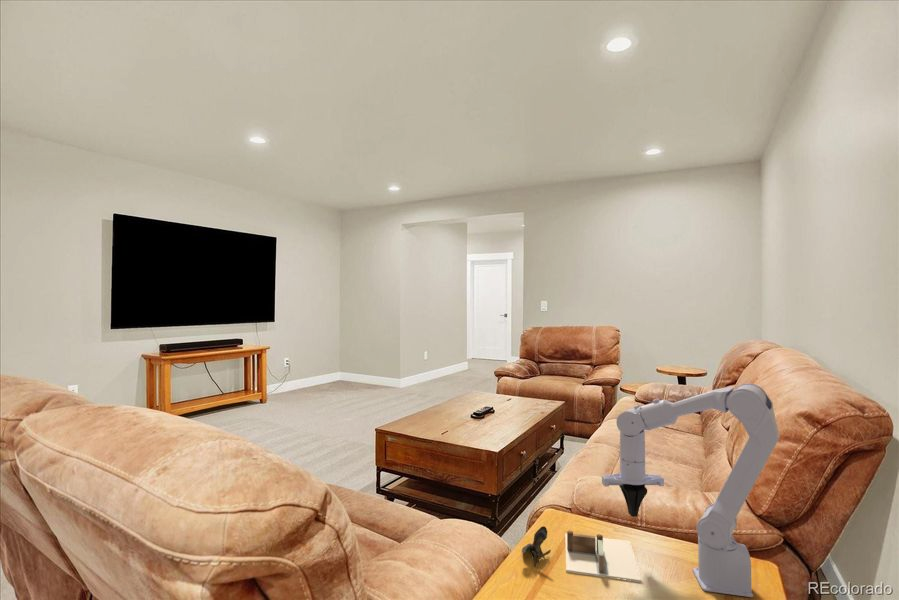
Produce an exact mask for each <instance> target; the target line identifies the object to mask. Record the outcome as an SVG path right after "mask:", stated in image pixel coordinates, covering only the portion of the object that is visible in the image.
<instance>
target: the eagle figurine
mask: <svg viewBox="0 0 899 600" xmlns="http://www.w3.org/2000/svg"><path fill="white" fill-rule="evenodd" d="M548 531H549V530H547V527H546V526H543V525H542V526H540V527H539V529H538V530H537V531H535V533H534V535H533V542H532V543H531V542H530V543H527V544H526V545H524V546H523V547H522V548H521V553H522V554H524V553H527V552H529V553H530V555H531V557H530V560H534V564H533V566H534V568H536V567H537V565H538V564H539V562H540V560H541V559H544V560H546V557H545V556H547V555H549V554H550V553H551V551H552V550H551V549H549V550H548V551H545V552H543V551H542V546H541V545H542V544H544V542H545V541H546V539H547V538H548Z"/></svg>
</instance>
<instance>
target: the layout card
mask: <svg viewBox="0 0 899 600" xmlns="http://www.w3.org/2000/svg"><path fill="white" fill-rule="evenodd" d="M564 538H565V540H564V542H565V572H566V573H570V574H577V575H584V576H585V575H586V576H590V577H591V576H592V577H598V576H599V578H605V577H609V578H608V579H612V578H620V579H626V580H625V581H627V580H631V581H630V582H634V581H635V582H634V583H641V582H642V583H643V579H642V577H641V574H640V570H639V567H638V562H637V559H636V557H635V554H634V550H633V547H632V543H631V541H630V540H625V539H616V538H607V537H603V553H604V572H600V571H599V563H598V554H597V536H595V538H596V554H591V553H583V552H575V551H568V550H567V532H566V533H565V534H564ZM620 579H619V580H620Z"/></svg>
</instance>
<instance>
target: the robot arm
mask: <svg viewBox="0 0 899 600" xmlns="http://www.w3.org/2000/svg"><path fill="white" fill-rule="evenodd" d="M734 388H735V389H734ZM640 405H641V404H637V405H634V408H629V409H627V410H625V411H623V412H621V413H620V414H619V415H618V416H617V418H616V427H617V429H618V431H619V473H613V474H609V475H601V484H602V485H603V486H604V487H606V488H607V487H609V486H619V488H620V490H621V492H622V495H623V497H624V500H625V503H626V507H627V511H628V512H627V513H628V514H629V516H630V517H633V518H634V517H636V518H637V517H638V516H639V515H638V514H639V511H640V508H641V504H642V502H643V501H644V499H645V497H646V495H647V494H648V488H647V487H646V486H659V487H664V486H665V478H664V477H662V476H661V475H658V474H657V475H656V474H647V473H646V441H645V439H646V436H645V431H651V430H655V429H659V428H663V427H666V426H671V425H674V424H676V422H677V420H678V417H681V416H685V415H690V414H694V413H699V412H703V411H707V410H711V409H712V410H713V409H714V410H716V411H719V412H721V413H723V414H727V412H728V411H729V413H731V414H732V415H733V416H734V417H735V418H736V419H737V420H738V421H739V422H740V423H741V424H742V426H743V428H744V429H745V431H746V434H748V439H747V441H746V443H745V444H744V446H743V448H742V450H741V453H740V454H739V456H738V458H737V460H736V462H735V464H734V465H733V467H732V469H731V471H730V473H729V475H728V476H727V479H726V480H725V482H724V484H723V486H722V488H721V490H720V492H719V493H718V495H717V497H716V499H715V501H714V502H713V503H711V504H709V505H708V506H707V507H706V508H705V510H704V513H703V515H702V517H701V518H699V520H698V521H697V523H696V527H695V528H696V534H697V538H698V540H697V545H698V547H697V548H698V550H697V551H698V553H697V554H698V557H697V558H698V563H697V564H698V567H692V572H693V573H694V575H695V578H696V580H697V582H698V584H699V586H700V587H701V589H702V591H705V592H710V593H717V594H718V593H719V594H724V595H732V596H739V597H746V598H753V597H754V593H752V592H753V591H752V590H753V589H752V560H751V556H750V552H749V550H748V548H747V546H746V545H745V544H742V543H739V542H737V541H736V539H735V537H734V535H733V533H734V531H735V530H736V528H737V524H738V522H737V517H738V514H739V513H740V511H741V510H742V507H743V505H744V504H745V502H746V500H747V497H748V496H749V494H750V492H751V491H752V489H753V487H754V486H755V483H756V482H757V481H758V478H759V476H760V475H761V472H762V471H763V469H764V467H765V465H766V463H767V461H768V460H769V458H770V456H771V454H772V452H773V451H774V449H775V447H776V445H777V444H778V442H779V438H780V432H779V428H778V424H777V420H776V416H775V411H774V410H775V409H774V404H773V401H772V400H771V399H770V397H769V395H768V394H767V393H766V391H765V390H764V389H763V388H762V387H761V386H759V385H757V384H755V383H746V382H745V383H742V384H740V385H738V386H737V387H736V385H730V386H725V387H721V388H715V389H712V390H709V391H706V392H703V393H699V394H697V395H694V396H691V397H687V398H684V399H681V400H679V401H675V402H672V401H670V400H667V399H660V398H659V397H658V398H655V399H652V402H651V403H647V404H644V405H641V406H640Z"/></svg>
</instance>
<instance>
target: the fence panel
mask: <svg viewBox="0 0 899 600" xmlns="http://www.w3.org/2000/svg"><path fill="white" fill-rule="evenodd" d="M598 563H599V571H600V572H604V553H603V544H602V540H598Z"/></svg>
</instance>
